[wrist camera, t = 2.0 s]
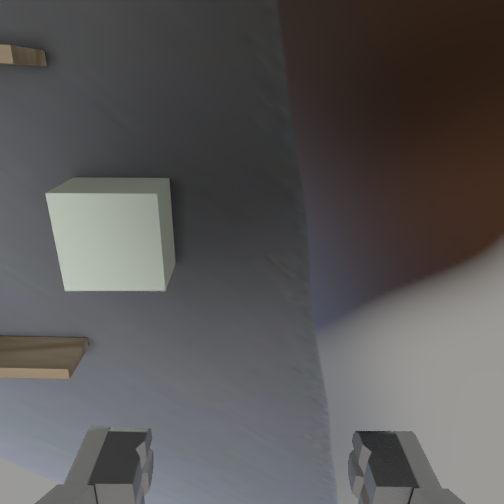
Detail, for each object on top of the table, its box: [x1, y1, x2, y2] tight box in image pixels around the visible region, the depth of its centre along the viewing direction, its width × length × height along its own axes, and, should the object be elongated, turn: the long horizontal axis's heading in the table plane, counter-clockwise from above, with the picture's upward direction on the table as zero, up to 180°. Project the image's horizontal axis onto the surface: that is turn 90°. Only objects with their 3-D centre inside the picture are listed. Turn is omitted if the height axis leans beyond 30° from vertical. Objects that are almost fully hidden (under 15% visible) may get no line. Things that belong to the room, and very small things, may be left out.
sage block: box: [45, 177, 176, 291], centre depth 24 cm, size 6×6×4 cm
